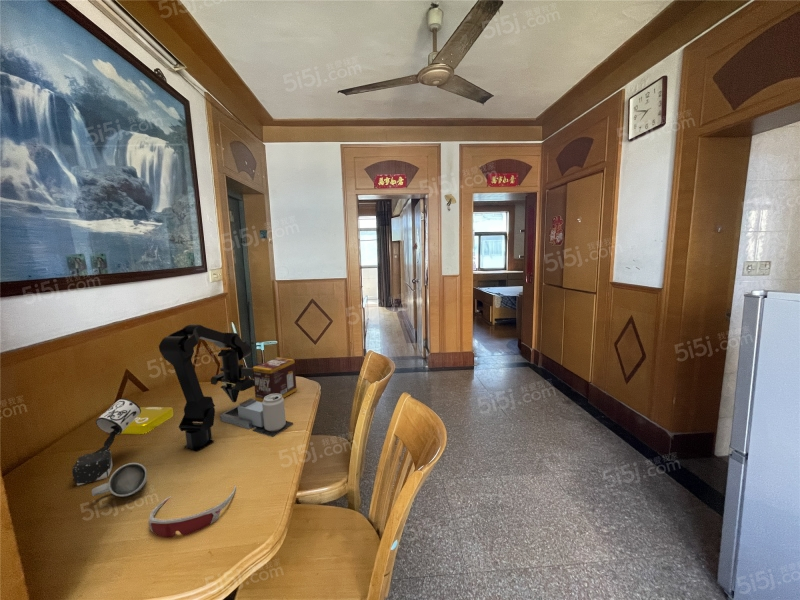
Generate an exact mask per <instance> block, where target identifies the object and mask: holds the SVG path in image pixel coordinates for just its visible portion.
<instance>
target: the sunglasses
mask: <svg viewBox="0 0 800 600" xmlns="http://www.w3.org/2000/svg"><path fill="white" fill-rule="evenodd" d="M236 488H237V486H236V484H235V485H234V487H233V490H232V492H231V493H230V495H229V496H228V497H227V498H226V499H225V500H223V501H222V502H221V503H219V504H218V505H216V506H212V507H211V508H209V509H206V510H203V511H202V512H199V513H196V514H192V515H189V516H184V517H179V518H170V519H160V518H156V517H155V515H156V513H157V512H158V510H159V509H160V508H161V507H162V506H163V505H164V504H165V503H166V502H168V500H169V499H170V498H171V497H172V496H170V495H169V496H168V497H166V498H165V499H164V500H162V501H161V502H160V503H159V504H158V505H157V506H156V507H154V508H153V509H152V511H151V512H150V514H149V518H148V526H149V529H150V530H149V531H151V532H152V533H153V534H155V535H156V536H158V537H161V538H162V537H163V538H173V537H174V535H175V534H176V532H179V533H180V534H181V535H183V536H188V535H190V534H192V533H196V532H199V531H200V530H202V529H204V528H206V527H207V526H210V525H212V523H215V522H217V521H218V519H219V517H220V514H221V511H223V509H224V508H225V507H227V506H228V505H229V503H230V501H231V500H232V499H233V496H234V495H235V492H236Z"/></svg>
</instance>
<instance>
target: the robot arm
mask: <svg viewBox="0 0 800 600" xmlns="http://www.w3.org/2000/svg"><path fill="white" fill-rule="evenodd" d="M200 340H203V341H207V342H210V343H213V345H215V346H216V347H218V348H221V350H220V352H219V353H218V354H217V357H219V358H220V357H221V364H222V367H221V368H220V371H221V372H222V373H219V374H216V375H213V376H212V377H211V378H210V384H211V385H214V386H217V384H218V383H219V382H220V383H221V386H220V389H222V391H224V392H225V394H226V396H228V398H229V399H230V400H231V402H232V403H233V404H234V403H237V401H238V397H239V394H240V392H243V391H244V392H245V391H246V390H249V389H251V388H253V387H255V380H254V378H253V379H252V376H253V367H246V366H244V364H240V363H239V362H240V361H241V360H244V358H247V357H249V356H250V355H251V354H252V347H251V345H250V344H248V343H247V340H242V338H241V337H240V335H239V333H237V332H222V331H219V330H216V329H213V328H209V327H206V326H204V325H201V324H187V325H185V326H184V327H182V328H181V329H179V330H176V331H175V332H173V333H169V335H168V336H165V337H163V338H162V340H160V342H159V344H158V349H159V352H160V354H161V355H162V356H161V357H163V359H164V360H166V361H167V362H168V363H170V365H171V366H172V367H173V369H174V372H175V375H176V378H177V380H178V383H179V385H180V388H181V390H182V393H183V396H184V400H185V401H186V403H185V404H184V407H183V413H184V415H183V416H182V419H181V421H180V422H179V426H178V429H179V430H180V432H185V433H184V434H185V440H186V445H184V446H183V448H185V449H187V450H190V451H192V452H195V453H196V452H199V451H201V450H203V449H205V448H206V447H208V446H210V445H212V444H214V442H215V440H213V439H212V428H211V427H213V426H214V423H215V415H216V409H215V407H216V405H215V404H214V399H213V397H212V396H205V395H204V393H203V390H202V386H201V384H200V382H199V379H198V375H197V373H196V370H195V367H194V364H193V362H192V361H193V360H192V358H193V355H194V352H195V349H194V348H195V347H196V346H197V345H198V344H199V343H200V342H199V341H200ZM245 377H246V378H245ZM248 377H249V378H248ZM250 377H251V378H250Z"/></svg>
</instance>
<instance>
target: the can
mask: <svg viewBox="0 0 800 600" xmlns="http://www.w3.org/2000/svg"><path fill="white" fill-rule="evenodd" d="M262 407H263V418H264V428H265V429H266V430H268V431H277V430H280V429H281V428H283V426H284V425H285V424H286V421H287V420H286V409H285V397H284V398H283V397H282V395H281V394H277V393H275V394H270V395H267V396H265V397H264V400H263V402H262Z"/></svg>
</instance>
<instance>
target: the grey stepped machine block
mask: <svg viewBox="0 0 800 600" xmlns="http://www.w3.org/2000/svg"><path fill="white" fill-rule="evenodd" d="M238 405H239V406H238ZM238 405H237V406H238V416H239V418H242V419H246V420H249V421H252V425H255V426H258V427H263V426H264V418H263V407H262V402H261V401H257V400H256V399H255V398H249V399H245V400H244V401H243V402H240V403H239V404H238Z"/></svg>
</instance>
